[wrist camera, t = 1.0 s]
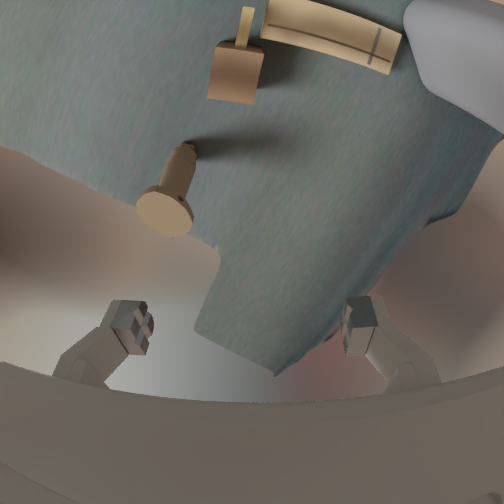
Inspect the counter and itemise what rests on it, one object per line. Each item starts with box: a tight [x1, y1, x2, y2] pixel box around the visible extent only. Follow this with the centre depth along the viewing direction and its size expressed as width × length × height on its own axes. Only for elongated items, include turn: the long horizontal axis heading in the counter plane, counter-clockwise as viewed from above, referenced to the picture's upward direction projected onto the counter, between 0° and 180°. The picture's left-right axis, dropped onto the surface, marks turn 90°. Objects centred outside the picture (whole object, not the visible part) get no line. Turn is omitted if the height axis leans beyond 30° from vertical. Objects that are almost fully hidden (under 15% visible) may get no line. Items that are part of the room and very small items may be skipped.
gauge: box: [207, 6, 264, 105], centre depth 29 cm, size 11×5×7 cm, turn 169°
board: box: [260, 0, 402, 75], centre depth 28 cm, size 6×16×4 cm, turn 79°
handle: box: [136, 142, 197, 238], centre depth 36 cm, size 5×6×15 cm
